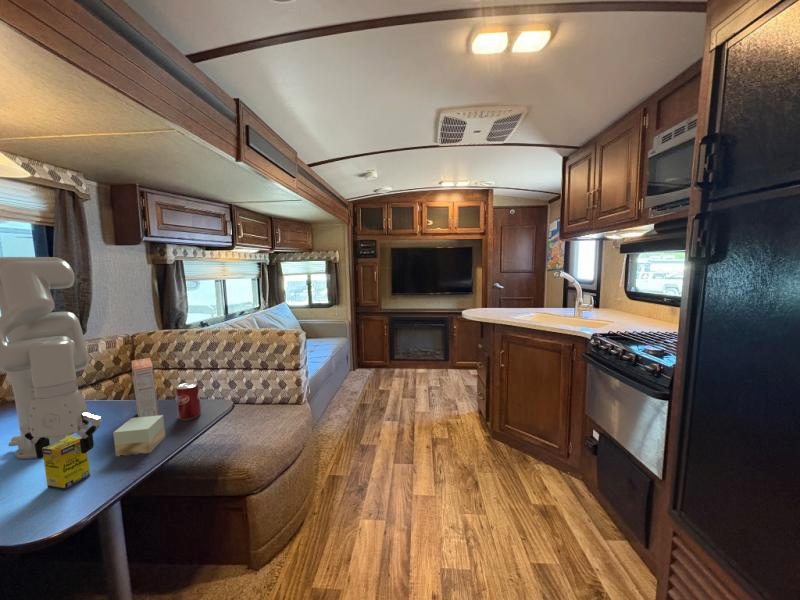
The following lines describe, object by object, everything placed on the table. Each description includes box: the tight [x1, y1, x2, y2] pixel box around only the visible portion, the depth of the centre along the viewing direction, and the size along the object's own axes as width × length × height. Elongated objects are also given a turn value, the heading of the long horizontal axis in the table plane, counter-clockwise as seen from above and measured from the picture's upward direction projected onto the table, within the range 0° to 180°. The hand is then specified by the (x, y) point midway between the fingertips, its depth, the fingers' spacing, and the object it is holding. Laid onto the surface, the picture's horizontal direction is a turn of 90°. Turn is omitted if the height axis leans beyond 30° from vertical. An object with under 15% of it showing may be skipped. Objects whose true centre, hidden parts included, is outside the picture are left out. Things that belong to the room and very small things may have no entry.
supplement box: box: [42, 436, 91, 491], centre depth 85 cm, size 6×6×11 cm
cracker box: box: [131, 357, 160, 417], centre depth 120 cm, size 14×6×21 cm, turn 41°
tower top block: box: [112, 414, 165, 446], centre depth 101 cm, size 9×9×4 cm
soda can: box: [174, 381, 202, 421], centre depth 121 cm, size 7×7×12 cm
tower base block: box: [114, 426, 166, 457], centre depth 102 cm, size 9×9×4 cm
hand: (66, 453), depth 84 cm, fingers open, 9 cm apart
